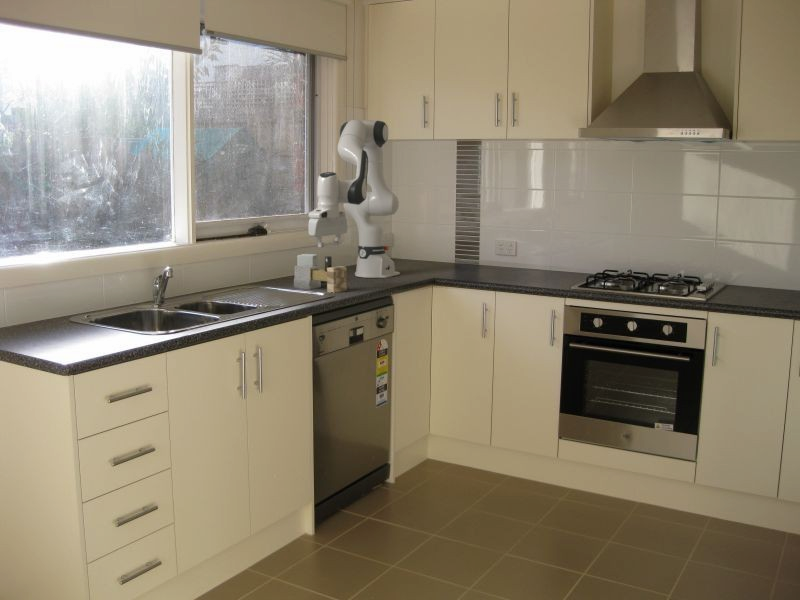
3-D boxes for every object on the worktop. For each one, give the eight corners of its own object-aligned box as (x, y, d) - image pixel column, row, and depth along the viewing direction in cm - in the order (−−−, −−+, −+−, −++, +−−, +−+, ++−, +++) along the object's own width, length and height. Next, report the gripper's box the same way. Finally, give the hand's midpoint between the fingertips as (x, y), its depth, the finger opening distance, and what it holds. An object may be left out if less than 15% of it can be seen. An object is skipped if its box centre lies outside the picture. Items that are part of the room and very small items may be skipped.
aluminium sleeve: (305, 285, 374) (305, 264, 372) (320, 287, 368) (320, 266, 367) (294, 287, 368) (293, 266, 367) (309, 289, 363) (309, 267, 362)
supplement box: (313, 284, 376) (313, 255, 374) (296, 284, 378) (296, 255, 376) (318, 282, 383) (318, 254, 381) (302, 281, 385) (301, 253, 383)
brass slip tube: (314, 278, 368) (313, 254, 367) (341, 281, 359) (341, 257, 357) (307, 278, 365) (307, 255, 363) (335, 282, 356) (334, 258, 354)
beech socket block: (340, 289, 362) (340, 265, 361) (346, 290, 360) (346, 266, 359) (327, 291, 356) (327, 267, 355) (333, 292, 354) (333, 268, 353)
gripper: (339, 210, 366) (339, 243, 368) (305, 213, 350) (306, 247, 353) (350, 211, 362) (351, 244, 365) (317, 214, 346) (317, 249, 349)
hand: (328, 246), depth 358 cm, fingers open, 8 cm apart
